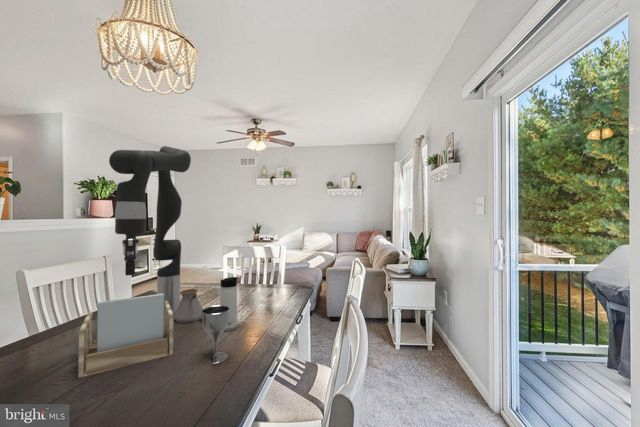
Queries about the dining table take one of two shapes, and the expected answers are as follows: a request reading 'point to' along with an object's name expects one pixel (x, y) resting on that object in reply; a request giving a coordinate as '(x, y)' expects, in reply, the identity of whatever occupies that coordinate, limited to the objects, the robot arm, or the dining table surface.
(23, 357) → the dining table surface
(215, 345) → the wine glass
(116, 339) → the blue-grey flat rectangular block
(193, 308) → the coffee pot
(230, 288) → the travel mug
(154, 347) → the rack
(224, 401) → the dining table surface
